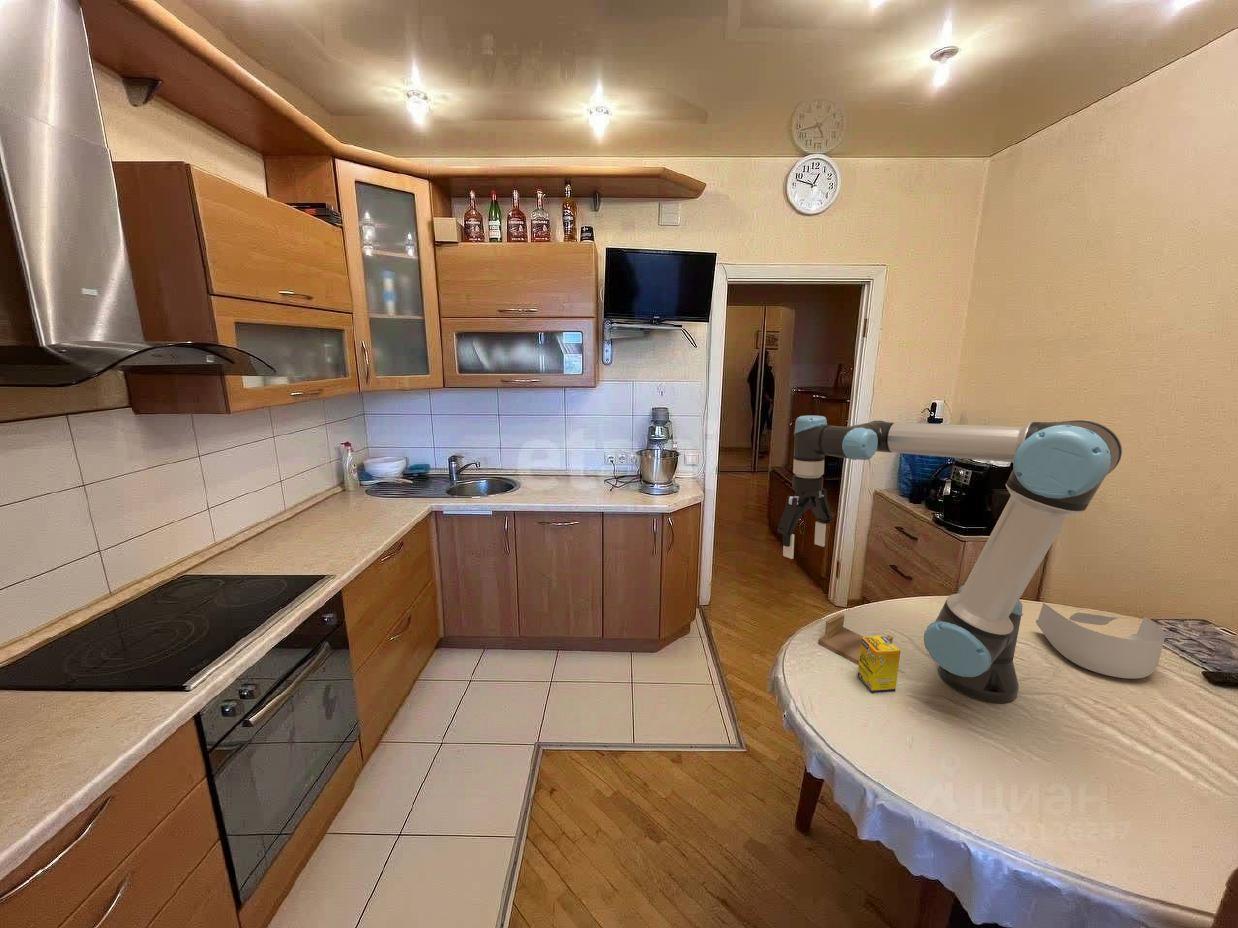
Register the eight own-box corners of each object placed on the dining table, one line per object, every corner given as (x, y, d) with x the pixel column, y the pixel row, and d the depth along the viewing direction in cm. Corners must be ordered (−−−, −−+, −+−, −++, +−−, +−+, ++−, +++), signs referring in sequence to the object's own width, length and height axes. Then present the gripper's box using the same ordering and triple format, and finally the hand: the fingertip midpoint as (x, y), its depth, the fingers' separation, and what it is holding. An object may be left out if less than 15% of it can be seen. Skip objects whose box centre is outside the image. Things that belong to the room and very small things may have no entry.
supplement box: (856, 676, 115) (860, 636, 112) (880, 675, 115) (884, 634, 113) (871, 693, 109) (875, 651, 107) (896, 691, 109) (901, 649, 107)
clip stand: (896, 656, 122) (899, 635, 121) (873, 672, 116) (875, 650, 115) (841, 630, 134) (843, 610, 133) (818, 643, 128) (819, 622, 127)
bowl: (1064, 675, 114) (1073, 630, 111) (1031, 632, 131) (1038, 593, 129) (1177, 695, 107) (1190, 648, 104) (1127, 647, 124) (1136, 606, 121)
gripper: (823, 465, 134) (819, 536, 139) (764, 479, 121) (762, 557, 126) (848, 470, 128) (843, 544, 133) (789, 485, 115) (786, 567, 119)
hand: (804, 551), depth 129 cm, fingers open, 13 cm apart
